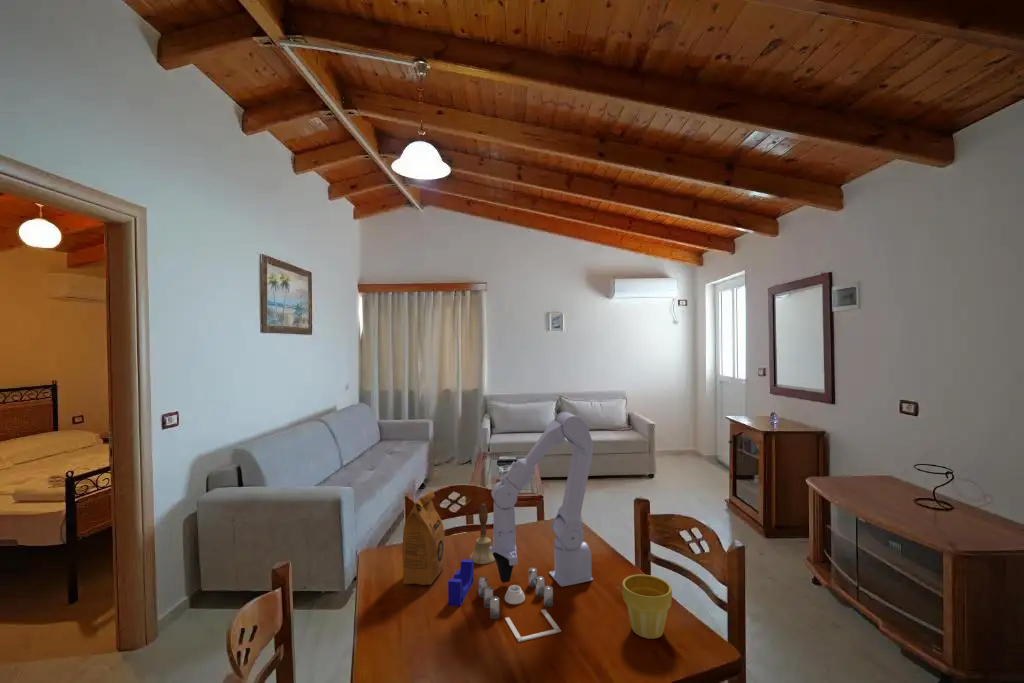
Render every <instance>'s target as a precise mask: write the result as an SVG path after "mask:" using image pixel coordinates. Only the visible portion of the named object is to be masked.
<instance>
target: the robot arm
mask: <svg viewBox="0 0 1024 683" xmlns="http://www.w3.org/2000/svg"><path fill="white" fill-rule="evenodd" d="M567 442H568V443H569V445H570V446H571V448H572V449H573V450H572V456H571V461H570V465H569V470H568V474H567V479H566V484H565V490H564V494H563V495H564V496H563V499H562V504H561V506H560V507H559V508H557V509H558V510H557V513H556V515H555V517H554V519H553V520H552V523H551V530H552V532H553V533H554V535H555V539H554V541H553V548H554V549H553V553H554V555H553V556H554V570H552V571H549V572H548V574H549V576H551V577H552V578H553V580H554V581H555V582H556V583H557V584H558V585H559V586H560V587H562V588H563V587H568V586H573V585H578V584H583V583H586V582H587V583H588V582H592V581H593V580H594V578H593V577H592V553H591V549H590V547H589V546H590V545H588V543H587V542H586V541H584V540H585V539H584V538H585V537H584V531H583V526H584V521H583V520H584V519H583V517H582V516H583V514H582V510H583V509H582V508H583V505H584V499H585V494H586V490H587V489H586V488H587V483H588V478H589V473H590V468H591V464H592V459H593V455H594V454H593V453H594V447H595V446H594V443H593V439H592V436H591V433H590V426H589V425H588V424H587V423H586V421H585V420H584V419H583V418H582V417H580V416H578V415H574V414H572V413H571V412H569V411H561V412H559V413H558V414H556V416H555V417H554V419H552V420H551V421H550V422H549V424H548V426H547V427H546V428H545V430H544V431H543V433H542V434H541V436H540V437H539V439H538V440H537V441H536V442H535V444H534V445H533V446H532V448H531V449H530V451H529V452H528V453H527V454H526V456H525V457H524V458H519V459H517V460H516V461H513V462H512V463H511V464H510V466H511V468H509V470H508V471H507V472H506V473H505V475H504V476H503V477H502V476H501V477H500V479H499V482H496V483H495V484H494V485H493V486H492V490H491V491H490V494H491V497H492V499H493V516H492V517H493V518H492V519H493V520H492V521H493V522H492V524H493V525H492V526H493V536H492V543H493V544H492V545H491V547H489V550H490V551H491V552H494V553H493V556H494V558H495V560H496V561H495V562H496V566H497V570H498V574H499V579H500V580H499V581H500V582H501V583H502V584H504V583H510V580H511V578H512V574H513V568H514V566H517V565H518V564H519V561H518V560H519V558H518V556H517V544H516V512H515V504H517V502H518V494H519V493H521V491H522V490H523V489H524V488H525V487H526V485H527V484H528V483H529V481H530V480H531V479H532V477H533V476H534V475H535V472H536V471H535V467H536V466H537V464H539V463H540V461H541V460H542V459H543V457H544V456H545V455H546V454H547V453H548V452H549V451H550V450H551V449H552V448H553V446H554V445H557V444H563V443H567Z"/></svg>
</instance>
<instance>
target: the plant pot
mask: <svg viewBox="0 0 1024 683" xmlns="http://www.w3.org/2000/svg"><path fill="white" fill-rule="evenodd" d="M621 586H622V590H621V591H622V599H623V601H624V603H625V604H626V608H627V613H628V617H629V622H630V625H631V630H632V631H633V632H634V633H635V634H636V635H638V636H639V637H641V638H644V639H648V640H649V639H650V640H651V639H653V640H654V639H659V638H660V637H662V636H663V634H664V631H665V625H666V620H667V615H668V612H669V611H668V610H669V609H670V608H671V606H672V601H673V597H672V596H673V593H672V587H671V584H669V583H668V581H666V580H664V579H663V578H661V577H658V576H655V575H649V574H634V575H633V574H632V575H629V576H627V577H625V578H624V579H623V581H622V585H621Z"/></svg>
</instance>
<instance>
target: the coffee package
mask: <svg viewBox="0 0 1024 683" xmlns="http://www.w3.org/2000/svg"><path fill="white" fill-rule="evenodd" d="M435 497H436V496H435V493H434V492H433V491H432V490H431V491H430V492H427V493H426V494H423V495H422V496H421V497H419V498H418V499H417V500H416V502H415V503H414V505H413V507H412V509H411V510H410V512H409V515H408V516H407V517H406V520H405V522H404V525H403V532H402V534H403V535H402V547H401V548H402V550H401V552H402V570H403V571H402V574H403V576H402V577H403V581H402V582H403V583H402V584H403V585H413V584H417V585H419V586H420V585H421V586H427V585H432V584H433V582H434V581H435V580H436V579H437V577H438V576H439V575H440V574H441V572H442V570H443V569H444V567H445V566H446V555H445V554H446V552H445V551H446V550H445V528H444V523H443V521H442V519H441V516H440V515H439V513H438V512H437V510H436V509H435V506H434V503H433V499H435Z"/></svg>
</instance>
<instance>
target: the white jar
mask: <svg viewBox="0 0 1024 683" xmlns="http://www.w3.org/2000/svg"><path fill="white" fill-rule="evenodd" d="M525 600H526V596H525V594H524V591H523V590H522V588H521V586H520V585H517V584H513V585H510V586H509V587H508V589H507V591H506V593H505V595H504V601H505V602H506V603H508V604H509V605H520V604H522V603H523V602H524V601H525Z"/></svg>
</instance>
